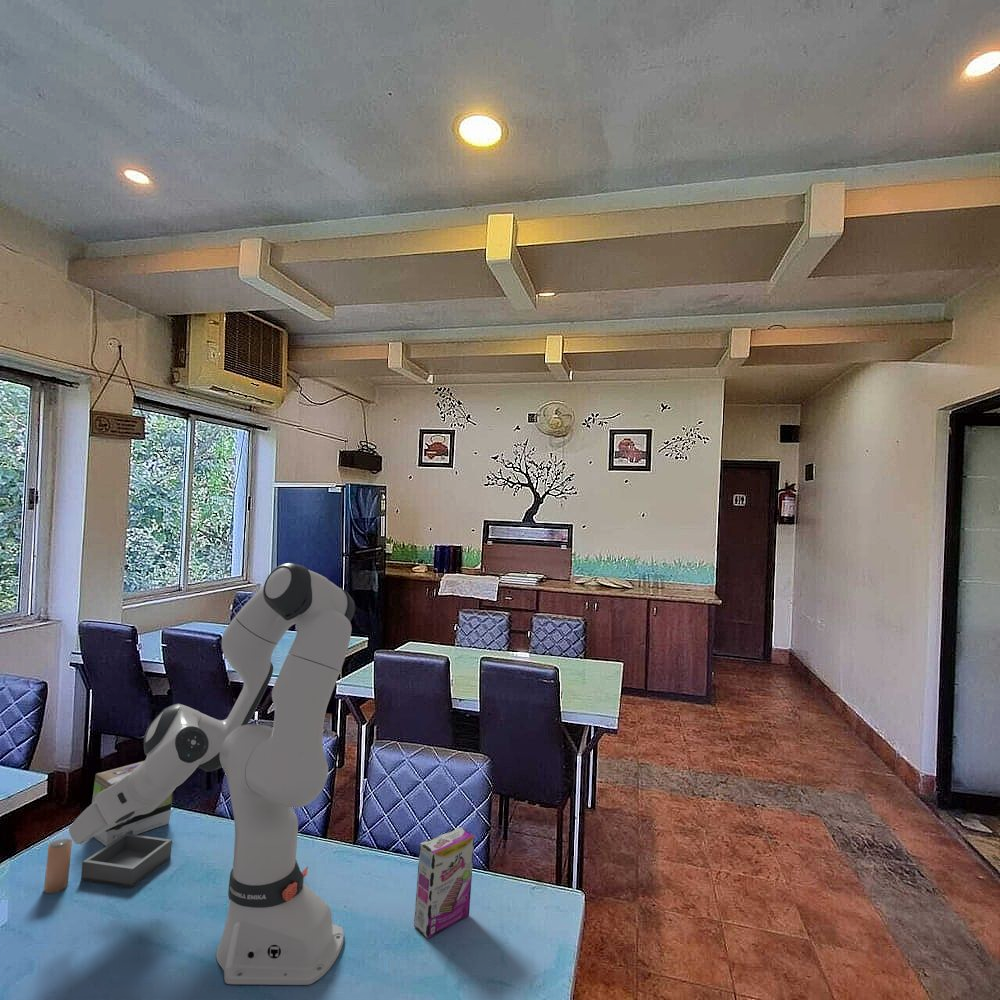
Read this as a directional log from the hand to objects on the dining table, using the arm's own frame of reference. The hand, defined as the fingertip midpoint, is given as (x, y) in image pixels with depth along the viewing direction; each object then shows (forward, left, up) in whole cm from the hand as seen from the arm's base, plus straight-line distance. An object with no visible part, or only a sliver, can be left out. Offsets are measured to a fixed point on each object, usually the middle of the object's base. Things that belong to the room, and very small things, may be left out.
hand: (103, 828), depth 120 cm
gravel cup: (+11, -1, -14) cm, 17 cm away
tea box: (+14, -25, -14) cm, 32 cm away
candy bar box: (-71, -8, -14) cm, 73 cm away
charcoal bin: (+2, -10, -14) cm, 17 cm away
